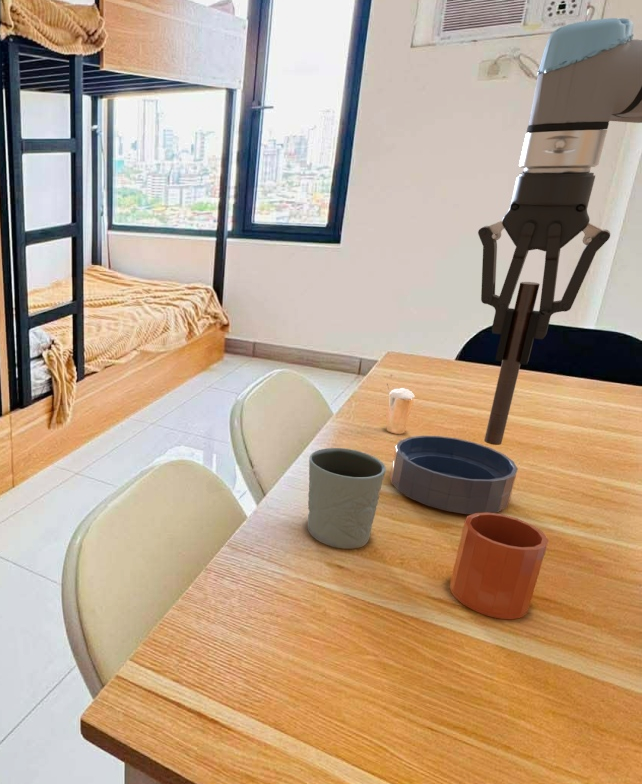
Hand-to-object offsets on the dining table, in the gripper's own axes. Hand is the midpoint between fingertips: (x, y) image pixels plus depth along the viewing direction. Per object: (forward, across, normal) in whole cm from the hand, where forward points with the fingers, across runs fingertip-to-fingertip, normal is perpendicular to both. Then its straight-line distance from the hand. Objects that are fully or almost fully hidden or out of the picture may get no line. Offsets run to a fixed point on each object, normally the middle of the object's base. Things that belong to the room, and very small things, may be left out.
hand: (511, 359), depth 82 cm
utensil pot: (+28, +4, -13) cm, 31 cm away
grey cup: (+28, -16, -9) cm, 34 cm away
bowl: (+28, -6, +16) cm, 33 cm away
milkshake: (+28, -19, +38) cm, 51 cm away
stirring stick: (+12, 0, 0) cm, 12 cm away
